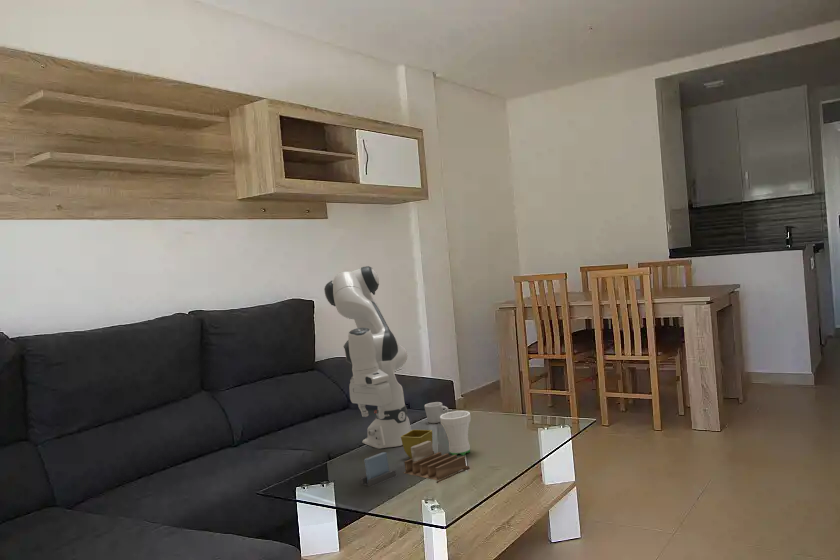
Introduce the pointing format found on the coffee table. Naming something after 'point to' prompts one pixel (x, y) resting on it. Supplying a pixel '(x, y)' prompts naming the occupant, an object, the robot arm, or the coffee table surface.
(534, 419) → the coffee table surface
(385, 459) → the upright blue tile
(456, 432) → the cup
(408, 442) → the flower pot
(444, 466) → the rack
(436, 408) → the cup
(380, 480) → the stand
